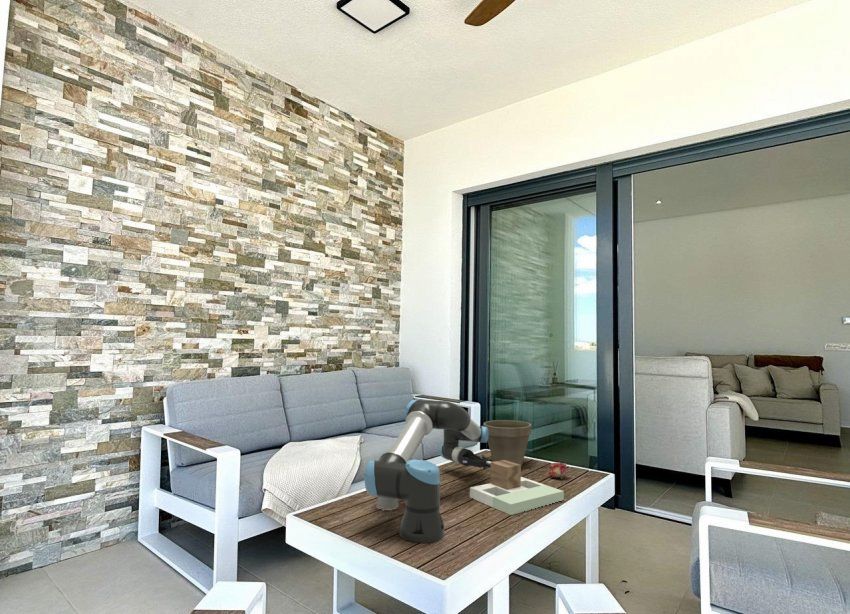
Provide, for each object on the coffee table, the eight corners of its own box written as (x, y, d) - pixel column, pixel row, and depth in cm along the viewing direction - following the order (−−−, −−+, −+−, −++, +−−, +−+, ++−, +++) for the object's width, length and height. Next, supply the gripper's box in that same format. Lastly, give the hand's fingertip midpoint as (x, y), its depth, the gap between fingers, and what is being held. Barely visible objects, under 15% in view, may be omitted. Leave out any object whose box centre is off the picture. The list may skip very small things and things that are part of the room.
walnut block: (506, 489, 199) (507, 467, 200) (490, 483, 207) (490, 462, 208) (520, 486, 204) (520, 464, 204) (504, 480, 212) (504, 459, 212)
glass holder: (374, 503, 192) (375, 465, 193) (409, 501, 195) (410, 463, 196) (378, 511, 183) (379, 471, 184) (414, 508, 187) (415, 469, 188)
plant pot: (473, 464, 255) (473, 422, 256) (502, 457, 271) (502, 417, 273) (511, 474, 236) (512, 429, 238) (540, 466, 253) (540, 424, 254)
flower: (574, 476, 228) (568, 460, 233) (562, 475, 223) (556, 458, 228) (559, 484, 234) (554, 468, 239) (547, 483, 229) (541, 467, 234)
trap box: (510, 515, 181) (510, 504, 182) (469, 497, 201) (469, 487, 201) (563, 501, 198) (563, 491, 199) (521, 485, 218) (521, 476, 218)
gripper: (473, 462, 234) (508, 474, 215) (452, 466, 227) (486, 478, 208) (473, 446, 235) (508, 457, 215) (452, 450, 227) (486, 460, 208)
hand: (497, 467), depth 212 cm, fingers closed
